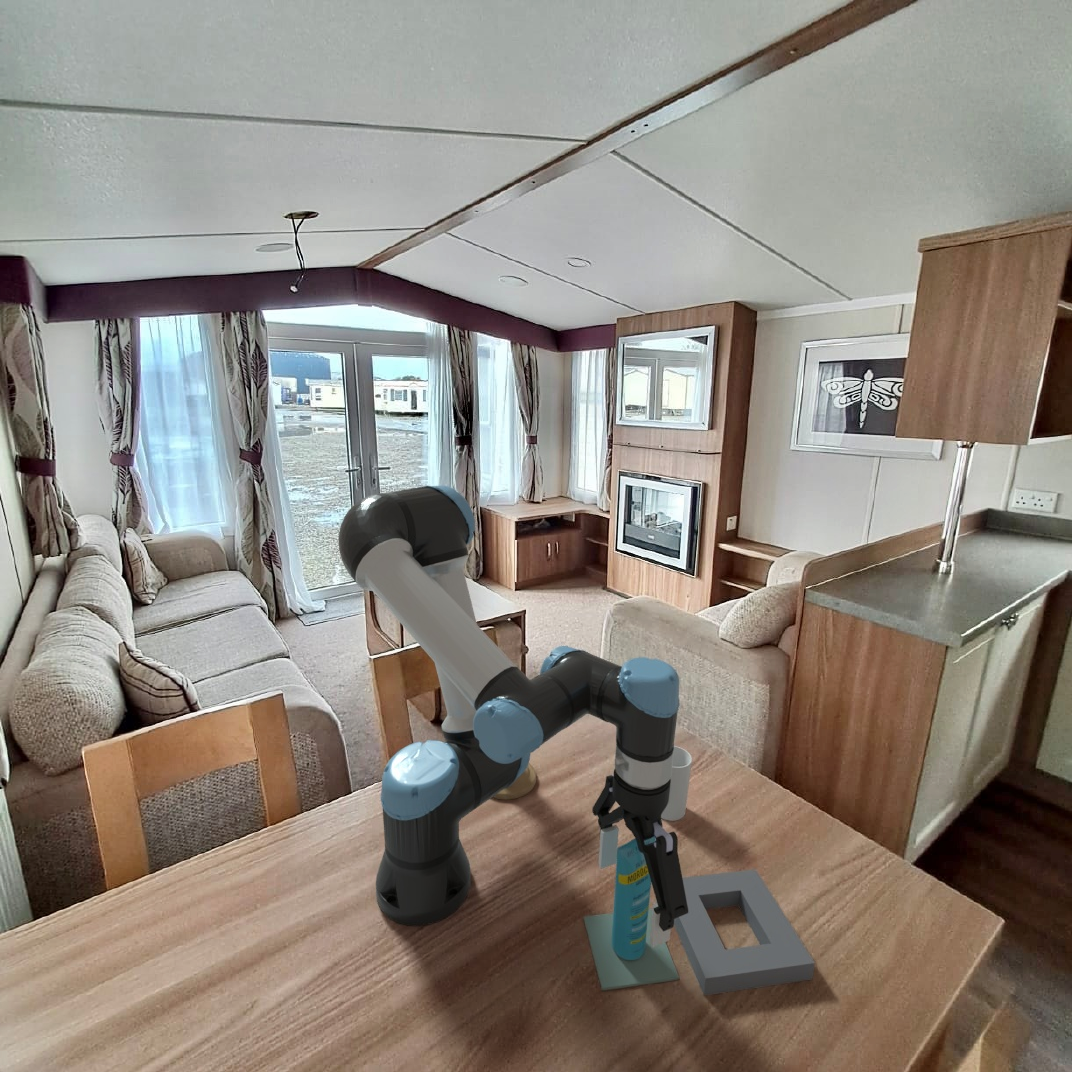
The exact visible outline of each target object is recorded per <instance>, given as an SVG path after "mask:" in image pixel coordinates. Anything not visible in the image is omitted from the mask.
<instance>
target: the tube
mask: <svg viewBox="0 0 1072 1072" xmlns="http://www.w3.org/2000/svg"><path fill="white" fill-rule="evenodd" d="M655 841H656V838H655V836H654V837H652V838H651V839H648V840H645V841H644V843H645V845H647V844H650V843H653V842H655ZM615 865H616V866H615V878H614V879H615V881H614V882H615V884H614V898H613V911H612V913H613V925H612V941H611V943H612V947H613V950H614V951H615V953H616V954H617V955H618V956H620V957H621V958H623V959H626V960H636V959H639V958H640V957H641V956H642V955H643V953H644V951H645V943H646V932H647V920H648V909H650V897H651V895H650V894H651V888H652V883H651V879H650V875H649V872H648V868H647V865H646V861H645V858H644V854H643V853H641V852H640V851H639V849H638V845H637V842H636V838H635V837H634V838H633V839H631V840H629V841H628V842H626V843H624V844H621V845H620V846H617V859H616V864H615Z"/></svg>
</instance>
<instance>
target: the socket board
mask: <svg viewBox="0 0 1072 1072" xmlns="http://www.w3.org/2000/svg"><path fill="white" fill-rule="evenodd" d="M682 879H683V884H684V889H685V895H686V900H687V906H688V913H687V914H685V915H683V916H680V917H678V918H675V919H674V926H673V927H674V928H675V931H676V933H677V935H678V937H679V940H680V942H681V945H682V947H683V950H684V952H685V954H686V957H687V959H688V961H689V963H690V966H691V969H692V972H693V974H694V976H695V979H696V981H697V984H698V986H699V987H700V991H701V992H702V995H703V996H708V995H709V996H710V995H716V994H722V993H729V992H735V991H736V992H737V991H743V990H751V989H756V988H757V989H758V988H764V987H771V986H776V985H784V984H791V983H798V982H805V981H810V980H811V981H812V980H813V976H814V971H815V966H816V962H815V961H814V959H813V957H812V956H811V954H810V952H809V951H808V949H807V948H806V947H805V944H804V943H803V942H802V940H801V938H800V937H799V935H798V934H797V932H796V930H795V928H794V927H793V926H792V924H791V923H790V921H789V919H788V918H787V916H786V915H785V913H784V911H783V910H782V908H781V907H780V905H779V903H778V902H777V901H776V898H775V897H774V896H773V894H772V893H771V891H770V889H769V888H768V886H767V884H766V883H765V881H764V880H763V879H762V877H761V875H760V874H759V872H758V870H757V869H747V870H739V871H737V870H736V871H729V872H722V873H720V872H719V873H711V874H704V875H703V874H702V875H694V876H685V877H682ZM736 906H737V907H738V908H739V909H740V911H741V913H742V914H743V916H744V918H745V920H746V922H747V923H748V926H749V927H750V929H751V930H752V932H753V934H754V936H755V938H756V939H757V942H758V944H757V945H749V946H742V947H735V948H727V949H725V946H724V944H723V942H722V940H721V938H720V936H719V934H718V932H717V930H716V928H715V926H714V924H713V922H712V920H711V918H710V916H709V914H708V912H707V910H712V909H713V910H714V909H720V908H730V907H736Z"/></svg>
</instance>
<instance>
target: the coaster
mask: <svg viewBox="0 0 1072 1072" xmlns="http://www.w3.org/2000/svg"><path fill="white" fill-rule="evenodd" d="M652 910H653V907H652V908H650V907H649V909H648V920H647V932H646V943H645V951H644V953H643V955H642V956H641V957H640V958H639V959H636V960H626V959H623V958H621V957H620V956H618V955H617V954H616V953H615V951H614V950H613V947H612V943H611V941H612V925H613V912H611V913H603V914H596V915H595V914H593V915H585V916H583V920H584V925H585V929H586V933H587V937H588V938H587V939H588V942H589V944H590V950H591V953H592V956H593V961H594V964H595V969H596V973H597V977H598V981H599V984H600V988H601V991H607V990H608V991H609V990H617V989H623V988H629V987H637V986H645V985H652V984H657V983H658V984H659V983H663V982H664V983H665V982H672V981H679V980H680V976H679V974H678V971H677V968H676V966H675V963H674V961H673V958H672V955H671V953H670V951H669V947H668V945H667V941H666V942H664V943H662V944H660V945H657V946H655V947H652V946H651V944H650V943H649V941H650V931H651V921H652Z"/></svg>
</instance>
